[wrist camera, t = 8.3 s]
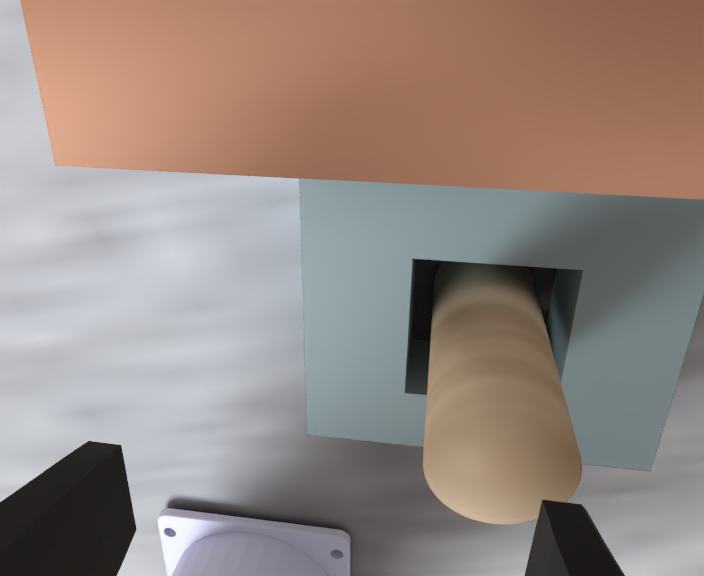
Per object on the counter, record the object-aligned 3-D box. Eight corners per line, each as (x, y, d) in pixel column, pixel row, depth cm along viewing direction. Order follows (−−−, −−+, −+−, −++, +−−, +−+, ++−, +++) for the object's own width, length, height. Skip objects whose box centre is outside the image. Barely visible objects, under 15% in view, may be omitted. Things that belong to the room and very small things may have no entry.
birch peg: (529, 330, 19) (573, 530, 12) (434, 327, 20) (423, 519, 13) (536, 242, 18) (590, 409, 11) (434, 241, 18) (422, 401, 11)
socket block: (624, 406, 20) (650, 471, 17) (325, 378, 21) (306, 434, 19) (740, -43, 14) (806, -50, 12) (319, -45, 15) (292, -51, 13)
